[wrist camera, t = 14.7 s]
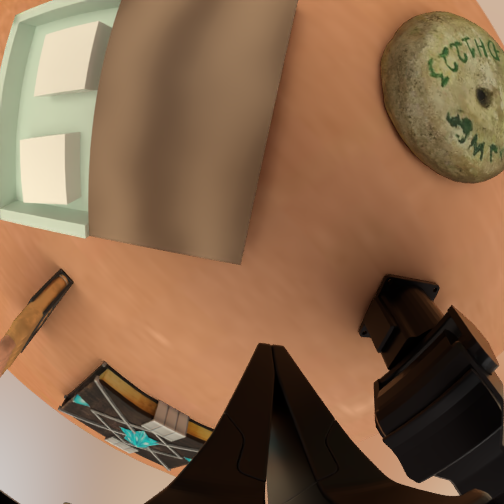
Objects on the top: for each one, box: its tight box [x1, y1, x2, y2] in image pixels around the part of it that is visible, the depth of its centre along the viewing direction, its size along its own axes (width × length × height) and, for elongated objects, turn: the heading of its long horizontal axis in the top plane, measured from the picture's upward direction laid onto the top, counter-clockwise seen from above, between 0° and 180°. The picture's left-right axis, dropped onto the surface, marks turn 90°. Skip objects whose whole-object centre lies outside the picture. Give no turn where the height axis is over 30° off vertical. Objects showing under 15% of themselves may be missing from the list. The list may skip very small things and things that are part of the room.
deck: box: [88, 0, 298, 265], centre depth 15 cm, size 11×18×2 cm, turn 169°
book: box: [58, 361, 214, 471], centre depth 31 cm, size 22×17×5 cm
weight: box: [381, 11, 504, 183], centre depth 13 cm, size 14×14×5 cm
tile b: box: [34, 21, 112, 97], centre depth 13 cm, size 5×5×2 cm
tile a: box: [20, 132, 81, 205], centre depth 16 cm, size 5×5×2 cm
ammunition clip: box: [0, 269, 73, 377], centre depth 18 cm, size 11×2×12 cm, turn 129°
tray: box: [0, 0, 121, 238], centre depth 14 cm, size 11×18×3 cm, turn 169°
